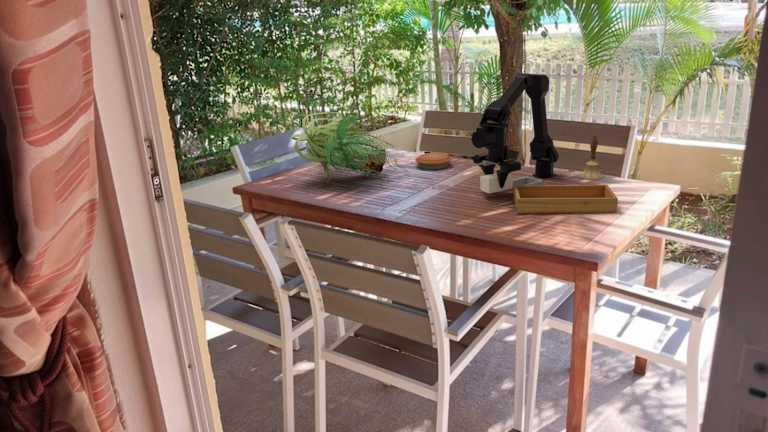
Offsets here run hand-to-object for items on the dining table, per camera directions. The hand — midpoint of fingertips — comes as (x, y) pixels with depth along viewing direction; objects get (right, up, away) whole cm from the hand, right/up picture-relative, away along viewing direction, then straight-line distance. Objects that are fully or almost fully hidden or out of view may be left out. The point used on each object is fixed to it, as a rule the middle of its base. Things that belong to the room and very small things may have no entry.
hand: (496, 186), depth 210 cm
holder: (+10, -1, +6) cm, 12 cm away
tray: (+20, -8, -12) cm, 24 cm away
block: (0, -1, 0) cm, 1 cm away
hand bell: (+39, +4, +17) cm, 43 cm away
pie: (-18, +10, +45) cm, 49 cm away
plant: (-50, +3, +28) cm, 58 cm away
